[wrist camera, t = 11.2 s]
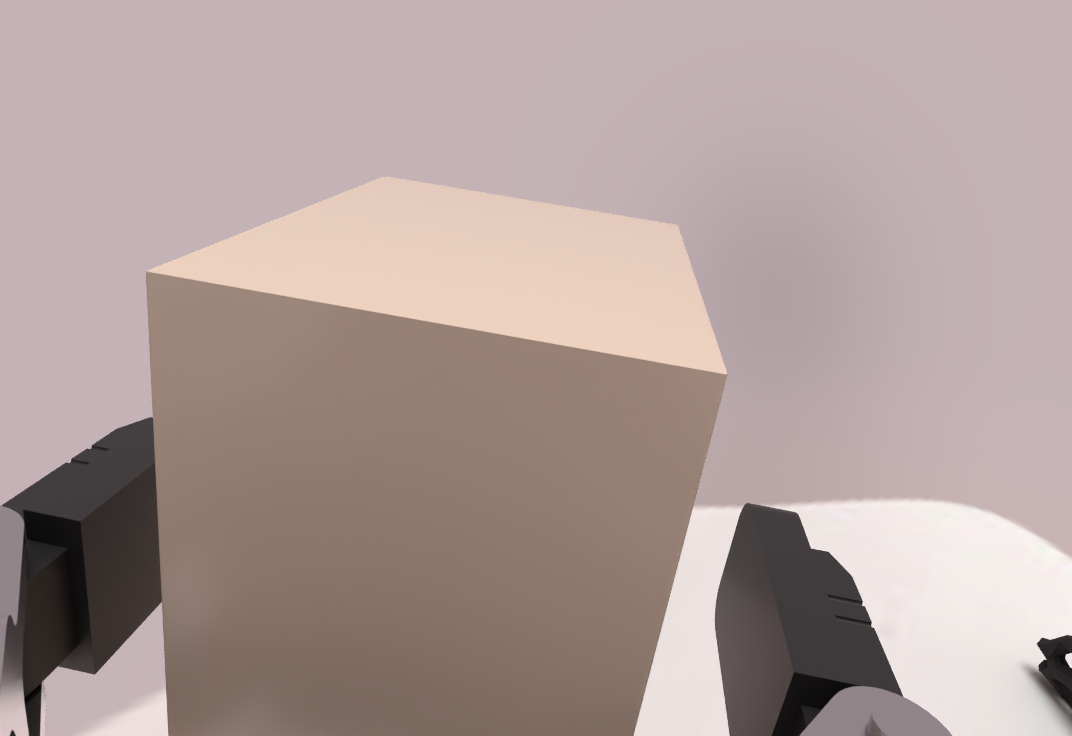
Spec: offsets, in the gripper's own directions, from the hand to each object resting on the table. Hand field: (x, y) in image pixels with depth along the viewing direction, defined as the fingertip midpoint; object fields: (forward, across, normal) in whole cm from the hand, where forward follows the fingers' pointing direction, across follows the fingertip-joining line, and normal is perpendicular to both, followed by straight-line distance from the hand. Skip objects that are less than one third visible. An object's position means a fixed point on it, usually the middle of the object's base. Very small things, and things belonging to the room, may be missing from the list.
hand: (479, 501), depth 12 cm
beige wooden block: (-2, 0, +10) cm, 11 cm away
